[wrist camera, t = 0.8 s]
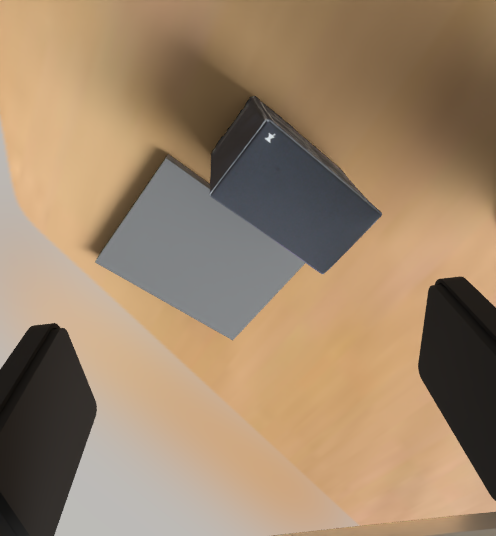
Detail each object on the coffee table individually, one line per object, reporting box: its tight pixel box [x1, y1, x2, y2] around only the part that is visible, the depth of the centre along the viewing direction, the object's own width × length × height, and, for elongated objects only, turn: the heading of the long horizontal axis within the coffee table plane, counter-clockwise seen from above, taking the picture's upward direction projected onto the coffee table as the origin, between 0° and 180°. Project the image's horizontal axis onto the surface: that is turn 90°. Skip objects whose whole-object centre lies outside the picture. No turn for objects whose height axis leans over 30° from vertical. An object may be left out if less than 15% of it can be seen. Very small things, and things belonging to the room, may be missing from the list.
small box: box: [210, 96, 382, 274], centre depth 31 cm, size 11×6×10 cm, turn 52°
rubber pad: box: [95, 154, 305, 340], centre depth 38 cm, size 16×12×2 cm
